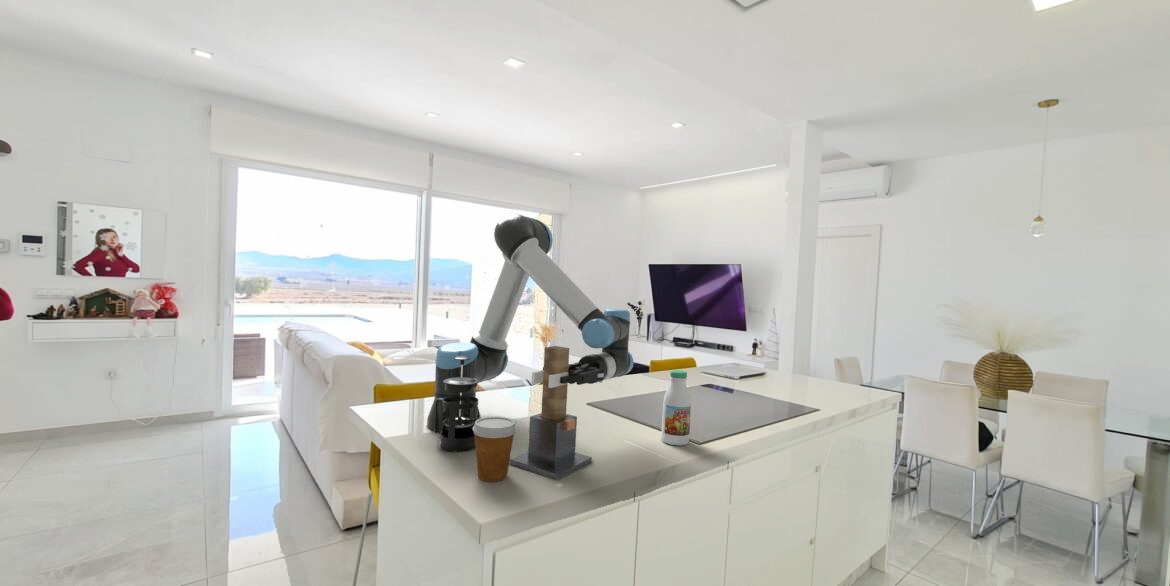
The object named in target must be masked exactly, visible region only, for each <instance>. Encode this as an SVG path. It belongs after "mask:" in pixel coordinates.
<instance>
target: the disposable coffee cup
mask: <svg viewBox="0 0 1170 586" xmlns="http://www.w3.org/2000/svg"><path fill="white" fill-rule="evenodd" d="M473 431H474V434H475V446H476V448H475V454H476V455H475V456H476V470H477V478H478V479H479V480H480V481H483V482H489V483H491V482H492V483H493V482H500V481H503V480H505V479H506V478H507V476H508V471H509V466H510V459H511V456H512V455H511V453H512V448H513V441H514V437H515V433H516V432H517V426H516V422H515V420H514V419H512V418H509V417H505V416H487V417H481V419H478V420H477V421H475V425H474V426H473Z"/></svg>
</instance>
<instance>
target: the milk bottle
mask: <svg viewBox="0 0 1170 586" xmlns="http://www.w3.org/2000/svg"><path fill="white" fill-rule="evenodd" d="M687 377H688V372H687V371H685V370H682V369H681V370H680V369H672V370H670V374H669V378H670V382H669V386H668V387H667V390H666V391H665V393H664V396H663V402H662V414H661V415H662V417H661V418H662V419H661V435H660V437H661V438H660V439H661V441H662V442H663V443H665V444H667V445H672V446H686V445H688V444H689V441H690V429H691V413H692V412H691V410H692V409H691V408H692V407H691V406H692V403H691V402H692V401H691V397H690V396H691V395H690V393H689V390H688V387H687V382H686V381H687V380H688V379H687Z"/></svg>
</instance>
